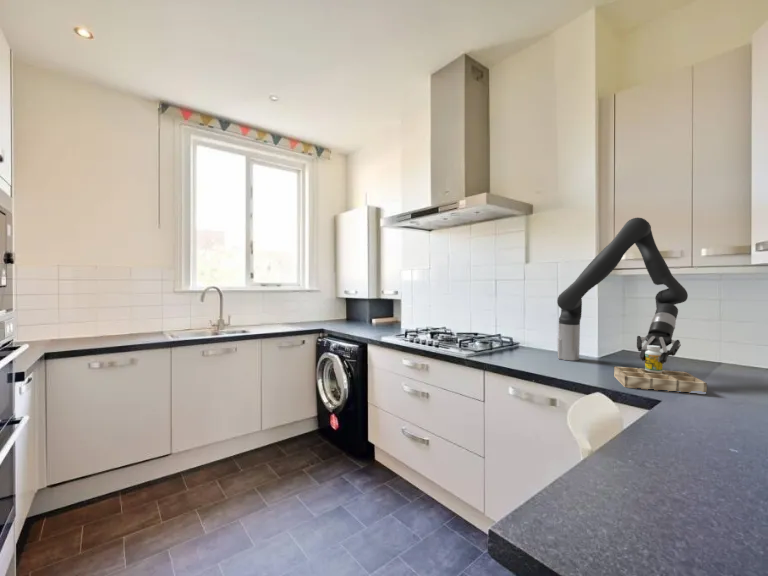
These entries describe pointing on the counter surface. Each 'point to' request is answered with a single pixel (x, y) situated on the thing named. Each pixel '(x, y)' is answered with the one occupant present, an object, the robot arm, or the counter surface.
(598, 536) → the counter surface
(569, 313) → the robot arm
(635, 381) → the carton
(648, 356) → the supplement bottle
